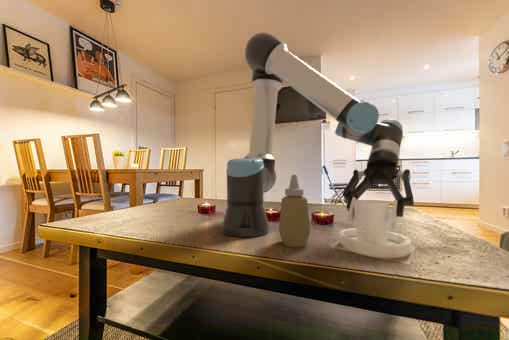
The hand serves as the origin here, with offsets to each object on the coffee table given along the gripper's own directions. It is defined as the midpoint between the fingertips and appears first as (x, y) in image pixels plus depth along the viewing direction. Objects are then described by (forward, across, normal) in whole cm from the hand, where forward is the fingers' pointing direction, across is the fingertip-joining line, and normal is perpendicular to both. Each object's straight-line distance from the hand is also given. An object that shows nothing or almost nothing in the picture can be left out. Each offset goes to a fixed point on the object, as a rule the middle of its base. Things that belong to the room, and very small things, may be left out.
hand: (370, 223), depth 52 cm
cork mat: (+3, 0, -6) cm, 7 cm away
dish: (+3, 0, -6) cm, 6 cm away
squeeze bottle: (+10, +16, +1) cm, 19 cm away
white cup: (+2, 0, -5) cm, 6 cm away
